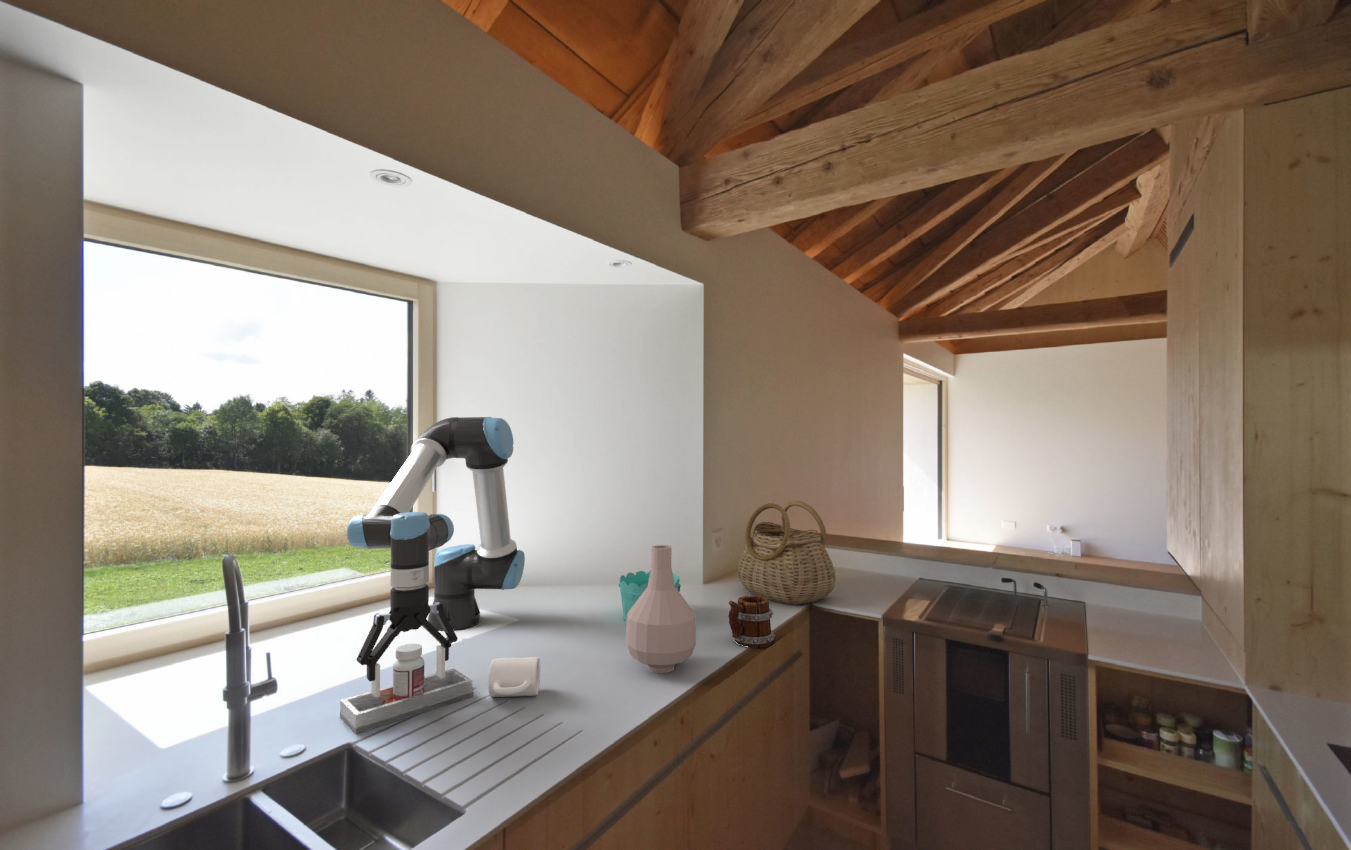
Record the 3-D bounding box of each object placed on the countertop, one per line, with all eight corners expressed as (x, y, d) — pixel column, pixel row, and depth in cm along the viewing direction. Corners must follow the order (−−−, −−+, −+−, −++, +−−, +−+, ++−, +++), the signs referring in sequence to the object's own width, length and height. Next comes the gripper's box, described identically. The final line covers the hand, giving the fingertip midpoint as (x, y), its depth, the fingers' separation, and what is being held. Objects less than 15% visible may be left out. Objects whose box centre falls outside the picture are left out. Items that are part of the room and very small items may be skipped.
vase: (643, 687, 140) (644, 556, 140) (614, 661, 155) (615, 543, 156) (709, 674, 148) (709, 550, 148) (675, 650, 164) (676, 538, 164)
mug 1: (496, 687, 140) (496, 652, 140) (540, 686, 141) (540, 651, 141) (484, 711, 128) (484, 673, 128) (532, 710, 129) (532, 672, 129)
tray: (355, 733, 118) (355, 715, 118) (339, 716, 125) (339, 699, 125) (473, 696, 135) (473, 680, 135) (453, 683, 142) (453, 667, 142)
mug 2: (785, 641, 171) (779, 589, 169) (750, 661, 162) (744, 607, 160) (755, 630, 180) (749, 581, 178) (720, 649, 171) (713, 598, 169)
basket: (850, 600, 213) (850, 504, 213) (795, 614, 197) (795, 509, 197) (777, 580, 241) (777, 495, 242) (724, 591, 225) (724, 499, 225)
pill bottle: (423, 692, 134) (423, 640, 135) (425, 703, 129) (425, 649, 129) (392, 697, 132) (392, 644, 132) (393, 709, 126) (393, 654, 126)
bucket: (609, 621, 189) (609, 579, 189) (635, 606, 205) (635, 567, 206) (666, 629, 181) (666, 585, 181) (688, 612, 198) (688, 572, 198)
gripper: (352, 600, 119) (351, 709, 119) (473, 578, 137) (472, 673, 136) (340, 593, 124) (339, 697, 124) (458, 573, 142) (457, 664, 142)
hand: (409, 685), depth 130 cm, fingers open, 13 cm apart
